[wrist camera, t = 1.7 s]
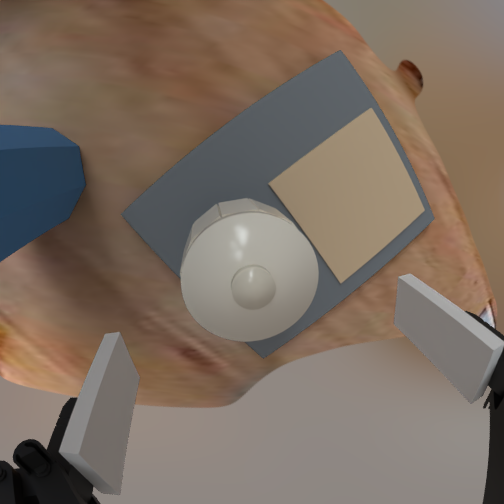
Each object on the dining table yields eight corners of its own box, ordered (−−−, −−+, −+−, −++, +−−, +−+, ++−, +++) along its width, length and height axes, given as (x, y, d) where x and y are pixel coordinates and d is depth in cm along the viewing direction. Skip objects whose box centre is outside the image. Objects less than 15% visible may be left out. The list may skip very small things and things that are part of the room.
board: (124, 211, 24) (86, 243, 16) (335, 53, 22) (388, 21, 14) (261, 352, 31) (280, 414, 23) (428, 216, 29) (486, 240, 20)
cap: (162, 249, 21) (149, 283, 15) (251, 176, 20) (268, 185, 14) (233, 321, 23) (242, 369, 18) (314, 259, 23) (346, 293, 17)
